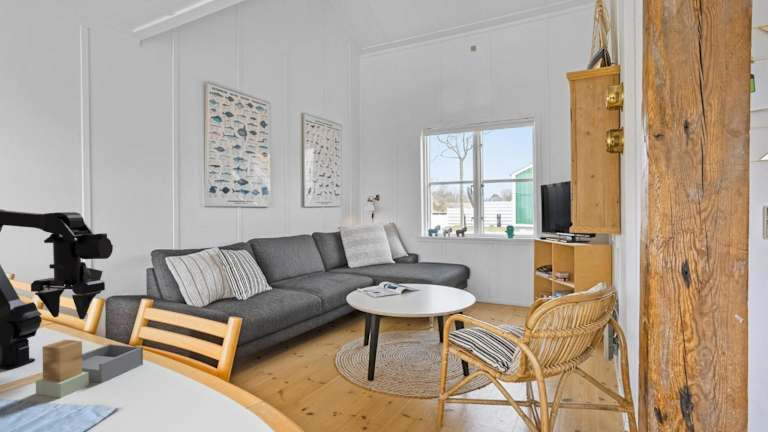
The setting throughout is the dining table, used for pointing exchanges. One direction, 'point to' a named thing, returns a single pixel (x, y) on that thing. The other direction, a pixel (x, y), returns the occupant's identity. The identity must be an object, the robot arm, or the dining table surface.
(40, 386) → the step
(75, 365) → the oak pillar
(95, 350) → the tray
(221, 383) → the dining table surface
